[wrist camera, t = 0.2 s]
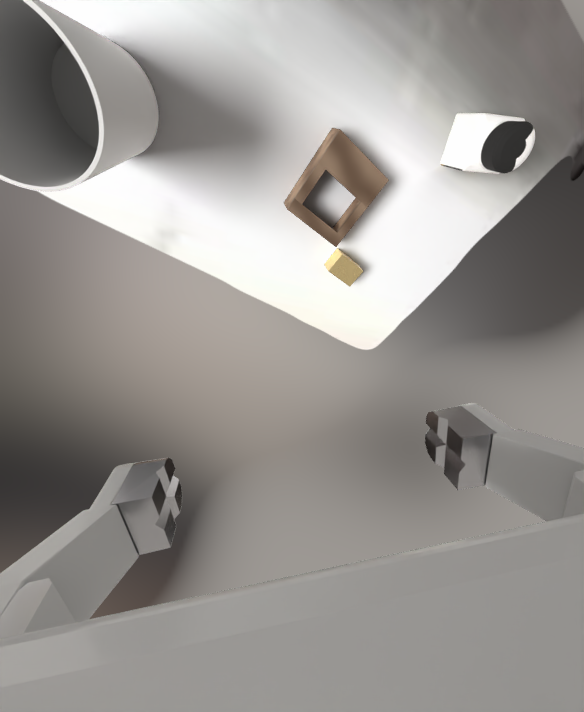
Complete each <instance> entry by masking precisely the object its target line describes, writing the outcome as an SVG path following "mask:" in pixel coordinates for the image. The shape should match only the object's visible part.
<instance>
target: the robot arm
mask: <svg viewBox="0 0 584 712" xmlns="http://www.w3.org/2000/svg"><path fill="white" fill-rule="evenodd" d="M426 424H427V425H428V426H429V427H430V429H429V430H428V432H427V433H426V434H425V445H426V449H427V452H428V454H429V456H430V458H431V459H432V460H433V462H434V463H435V464H437V465H439V466H441V467H444V475H445V476H446V477H447V478H448V479H449V480H450V482H451V483H452V484H453V485H454V486H455V487H456V489H457V490H461V489H467V488H473V487H479V486H484V485H485V487H486V488H488V489H490V490H492V491H494V492H495V493H497V494H499V495H501V496H503V497H504V498H506V499H508V500H510V501H511V502H513V503H515V504H517V505H519V506H520V507H522V508H524V509H526V510H527V511H529V512H531V513H533V514H535V515H536V516H538V517H540V518H542V519H544V520H545V521H546V522H542V523H537V524H533V525H528V526H523V527H518V528H514V529H509V530H504V531H500V532H496V533H491V534H486V535H481V536H476V537H472V538H467V539H462V540H458V541H453V542H448V543H444V544H439V545H434V546H429V547H425V548H420V549H415V550H411V551H406V552H401V553H397V554H392V555H387V556H383V557H378V558H374V559H369V560H364V561H360V562H355V563H351V564H345V565H341V566H336V567H332V568H327V569H322V570H318V571H313V572H309V573H304V574H299V575H294V576H290V577H285V578H281V579H276V580H271V581H267V582H262V583H257V584H253V585H248V586H243V587H239V588H234V589H229V590H224V591H220V592H215V593H211V594H206V595H201V596H197V597H192V598H187V599H182V600H178V601H173V602H168V603H164V604H159V605H154V606H150V607H145V608H141V609H136V610H132V611H127V612H122V613H117V614H113V615H108V616H103V617H99V618H94V619H89V618H90V617H91V615H92V614H93V613H94V612H95V611H96V609H97V608H98V607H99V606H100V604H101V603H102V602H103V601H104V599H105V598H106V597H107V596H108V594H109V593H110V592H111V591H112V590H113V588H114V587H115V586H116V585H117V583H118V582H119V581H120V579H121V578H122V577H123V576H124V575H125V573H126V572H127V570H129V568H130V567H131V566H132V564H133V563H134V562H135V561H136V559H137V558H138V557H139V556H138V555H140V554H145V553H149V552H153V551H157V550H162V549H166V548H170V547H171V544H172V540H173V537H174V533H175V529H176V524H175V521H174V518H175V517H176V516H177V515H178V514H179V513H180V510H181V506H182V489H181V484H180V481H179V479H177V478H176V477H174V476H173V474H174V471H175V466H174V463H173V460H172V459H171V458H162V459H156V460H151V461H144V462H137V463H131V464H125V465H119V466H117V467H116V468H114V470H113V472H112V473H111V475H110V476H109V478H108V480H107V481H106V483H105V485H104V486H103V488H102V490H101V491H100V493H99V495H98V496H97V498H96V499H95V501H94V503H93V504H92V506H91V508H90V509H89V510H84V511H82V512H81V513H80V514H78V515H77V516H76V517H74V518H73V519H72V520H70V521H69V522H68V523H66V524H65V525H64V526H62V527H61V528H60V529H58V530H57V531H56V532H54V533H53V534H52V535H51V536H49V537H48V538H47V539H45V540H44V541H43V542H42V543H40V544H39V545H37V546H36V547H35V548H33V549H32V550H31V551H30V552H28V553H27V554H25V555H24V556H23V557H22V558H20V559H19V560H18V561H16V562H15V563H14V564H12V565H11V566H10V567H8V568H7V569H6V570H5V571H3V572H2V573H1V574H0V712H584V448H583V447H579V446H576V445H572V444H569V443H565V442H562V441H559V440H555V439H552V438H548V437H544V436H541V435H538V434H534V433H531V432H528V431H524V430H520V429H517V430H514V429H512V428H511V427H510V426H508V425H507V424H505V423H504V422H502V421H501V420H499V419H498V418H497V417H495V416H494V415H492V414H491V413H490V412H488V411H487V410H485V409H484V408H482V407H481V406H480V405H478V404H475V403H470V404H465V405H460V406H457V407H452V408H447V409H442V410H436V411H431V412H428V414H427V416H426ZM88 619H89V620H88Z"/></svg>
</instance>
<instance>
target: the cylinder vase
mask: <svg viewBox="0 0 584 712" xmlns="http://www.w3.org/2000/svg"><path fill="white" fill-rule="evenodd" d="M158 123H159V111H158V104H157V100H156V96H155V93H154V90H153V88H152V85H151V83H150V81H149V79H148V77H147V76H146V74H145V72H144V71H143V69H142V68H141V66H140V65H139V64H138V63H137V61H136V60H135V59H134V58H133V57H132V56H131V55H130V54H129V53H128V52H127V51H125V50H124V49H123V48H122V47H120V46H119V45H117V44H116V43H114V42H112V41H110V40H109V39H107V38H105V37H103V36H101V35H100V34H98V33H96V32H94V31H93V30H91V29H89V28H87V27H85V26H84V25H82V24H80V23H78V22H77V21H75V20H73V19H71V18H69V17H68V16H66V15H64V14H62V13H61V12H59V11H57V10H55V9H53V8H52V7H50V6H48V5H46V4H45V3H43V2H41V1H39V0H0V179H2V180H4V181H6V182H8V183H11V184H13V185H16V186H20V187H23V188H26V189H31V190H36V191H60V190H65V189H68V188H71V187H74V186H76V185H78V184H80V183H82V182H84V181H86V180H88V179H90V178H92V177H94V176H96V175H98V174H100V173H102V172H104V171H106V170H108V169H110V168H112V167H114V166H116V165H118V164H120V163H122V162H124V161H126V160H128V159H130V158H132V157H134V156H136V155H138V154H140V153H142V152H144V151H145V150H146V149H147V148H148V147H149V146H150V145H151V143H152V142H153V140H154V138H155V136H156V133H157V129H158Z"/></svg>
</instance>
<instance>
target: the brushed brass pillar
mask: <svg viewBox="0 0 584 712" xmlns="http://www.w3.org/2000/svg"><path fill="white" fill-rule="evenodd" d="M324 265H325V266H326V268H327V270H328V271H329V272H330V273H332V274H333V275H334V276H336V277H337V278H339V279H340V280H341V281H343V282H344V283H346V284H347V285H348V286H351V285H352V284H353V282H354V281H355V280H356V279H357V278H358V277H359V276H360V274H361V273H362V272H363V270H362V268H361V267H360V266H359V265H358V264H357V263H356V262H354V261H353V260H352V259H351V258H349V257H348V256H347V255H346V254H344V253H343V252H342V251H341V250H339V249H338V248H337V249H336V250H335V252H334V253H333V254H332V255H331V257H330V258H329V259H328V260H327V262H326V263H325V264H324Z"/></svg>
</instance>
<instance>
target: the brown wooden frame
mask: <svg viewBox="0 0 584 712" xmlns="http://www.w3.org/2000/svg"><path fill="white" fill-rule="evenodd" d="M325 170H327V171H328V172H329V173H330V174H331V175H332V176H333V177H334V178H335V179H336V180H337V181H339V182H340V183H341V184H342V185H343V186H344V187H345V188H346V189H347V190H348V191H349V192H350V193H352V194H353V195H354V196H355V197H356V198H355V200H354V201H353V202H352V204H351V205H350V206H349V208H348V209H347V210H346V211H345V213H344V214H343V215H342V217H341V218H340V219H339V221H338V222H337V223H336V225H335V226H334V227H333V229H332V228H331V227H330V226H329V225H327V224H326V223H325V222H324V221H323V220H321V219H320V218H319V217H318V216H316V215H315V214H314V213H313V212H311V211H310V210H309V209H308V208H306V207H305V206H304V205H303V202H304V201H305V199H306V198H307V196H308V195H309V193H310V192H311V190H312V189H313V187H314V186H315V185H316V183H317V182H318V180H319V179H320V177H321V176H322V174H323V173H324V171H325ZM388 181H389V180H388V179H387V178H386V177H385V176H384V175H383V173H382V172H381V171H380V170H379V169H378V168H377V167H376V166H375V165H374V164H373V163H372V162H371V161H370V160H369V159H368V158H367V157H366V156H365V155H364V154H363V153H362V152H361V151H360V150H359V148H358V147H357V146H356V145H355V144H354V143H353V142H352V141H351V140H350V139H349V138H348V137H347V136H346V135H345V134H344V133H343V132H342V131H341V130H340V129H335V128H332V129H331V131H330V132H329V134H328V135H327V137H326V138H325V140H324V141H323V143H322V145H321V146H320V148H319V149H318V151H317V152H316V154H315V155H314V157H313V158H312V160H311V161H310V163H309V165H308V166H307V168H306V169H305V171H304V172H303V174H302V175H301V177H300V178H299V180H298V182H297V183H296V185H295V186H294V188H293V189H292V191H291V192H290V194H289V195H288V197H287V199H286V200H285V202H284V204H285V206H286V208H287V210H289V211H290V212H291V213H293V214H294V215H295V216H296V217H298V218H299V219H300V220H302V221H303V222H304V223H306V224H307V225H308V226H309V227H311V228H312V229H313V230H315V231H316V232H317V233H318V234H320V235H321V236H322V237H324V238H325V239H326V240H327V241H329V242H330V243H331V244H333V245H334V246H335V247H337V245H338V244H339V243H340V242H341V240H342V239H343V238H344V236H345V235H346V234H347V233H348V231H349V230H350V229H351V228H352V226H353V225H354V224H355V223H356V221H357V220H358V219H359V217H360V216H361V215H362V214H363V212H364V211H365V210H366V209H367V207H368V206H369V205H370V203H371V202H372V201H373V200H374V198H375V197H376V196H377V195H378V193H379V192H380V191H381V189H382V188H383V187H384V186H385V184H386V183H387V182H388Z"/></svg>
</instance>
